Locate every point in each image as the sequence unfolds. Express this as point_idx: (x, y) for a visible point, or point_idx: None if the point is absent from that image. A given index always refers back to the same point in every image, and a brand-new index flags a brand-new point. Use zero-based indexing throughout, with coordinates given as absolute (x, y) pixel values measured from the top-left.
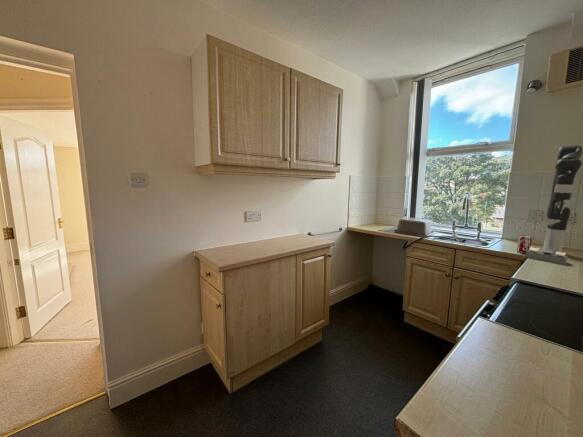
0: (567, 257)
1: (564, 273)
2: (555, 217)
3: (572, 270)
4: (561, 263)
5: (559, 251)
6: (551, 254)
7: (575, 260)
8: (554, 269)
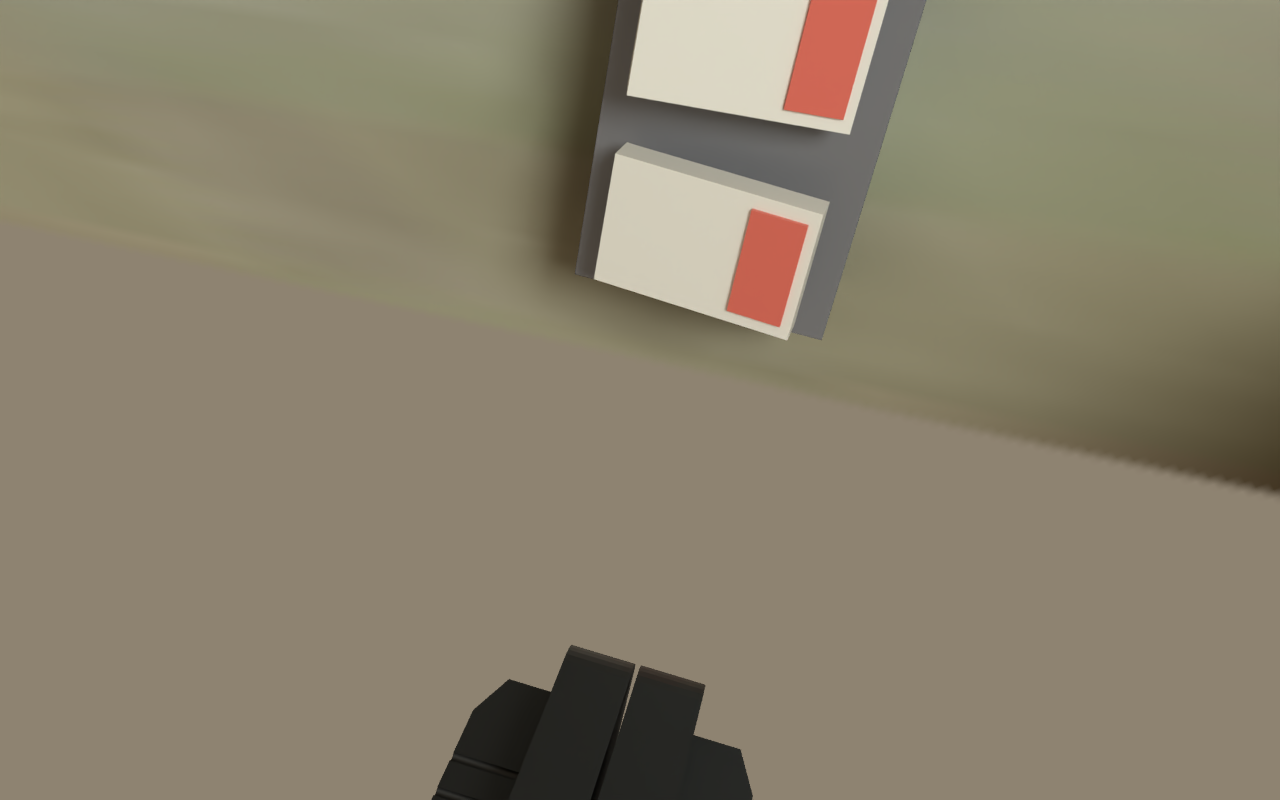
0: None
1: (25, 115)
2: (545, 714)
3: (308, 243)
4: None
5: (792, 250)
6: None
7: (1134, 442)
8: (125, 29)
